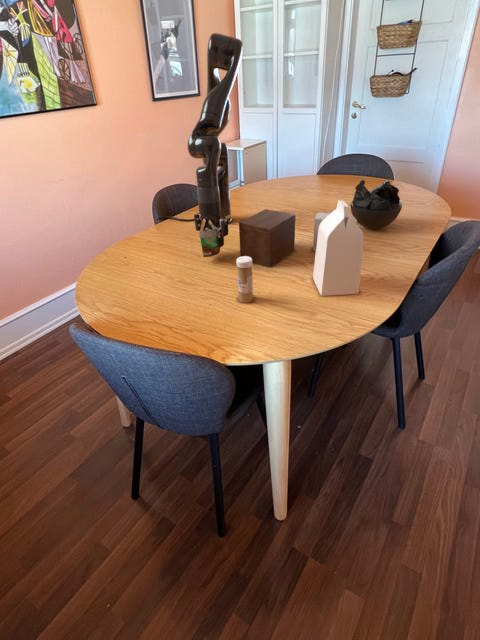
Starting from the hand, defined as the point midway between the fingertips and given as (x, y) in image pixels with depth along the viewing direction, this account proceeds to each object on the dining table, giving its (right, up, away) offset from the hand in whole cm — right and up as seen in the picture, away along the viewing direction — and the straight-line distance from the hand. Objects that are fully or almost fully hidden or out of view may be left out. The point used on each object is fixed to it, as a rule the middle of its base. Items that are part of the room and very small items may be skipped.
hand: (212, 244), depth 139 cm
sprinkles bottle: (+12, -21, -23) cm, 33 cm away
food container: (+1, -3, +2) cm, 3 cm away
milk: (+40, -17, -18) cm, 47 cm away
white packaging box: (+42, 0, +7) cm, 42 cm away
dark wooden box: (+20, -3, +4) cm, 21 cm away
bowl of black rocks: (+66, +11, +22) cm, 71 cm away
